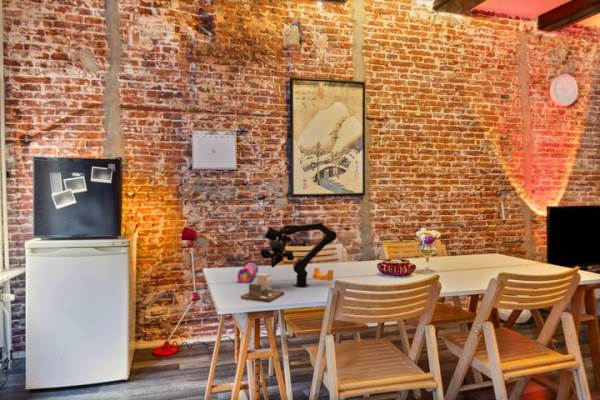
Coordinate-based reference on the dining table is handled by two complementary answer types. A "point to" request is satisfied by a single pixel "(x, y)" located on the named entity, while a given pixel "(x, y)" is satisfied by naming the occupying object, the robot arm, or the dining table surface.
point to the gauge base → (275, 295)
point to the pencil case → (247, 272)
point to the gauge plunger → (264, 282)
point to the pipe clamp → (322, 277)
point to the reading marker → (265, 292)
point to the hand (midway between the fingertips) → (272, 267)
